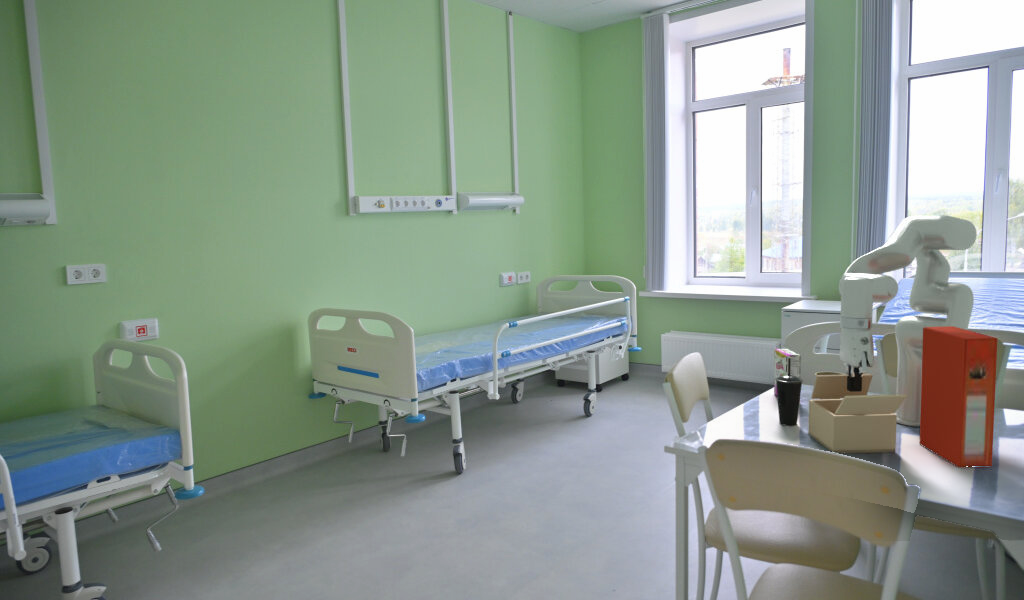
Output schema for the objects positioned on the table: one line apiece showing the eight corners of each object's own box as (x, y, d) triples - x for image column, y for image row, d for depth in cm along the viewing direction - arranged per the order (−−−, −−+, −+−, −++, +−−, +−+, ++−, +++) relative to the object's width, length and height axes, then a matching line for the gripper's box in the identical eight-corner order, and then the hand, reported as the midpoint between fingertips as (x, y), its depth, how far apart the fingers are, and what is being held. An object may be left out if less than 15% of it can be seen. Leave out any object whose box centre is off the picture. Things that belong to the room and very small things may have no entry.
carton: (865, 432, 191) (866, 398, 190) (895, 452, 175) (896, 414, 174) (808, 433, 191) (809, 399, 190) (833, 453, 176) (834, 416, 174)
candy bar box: (772, 394, 234) (773, 348, 232) (787, 394, 233) (788, 348, 231) (785, 403, 222) (786, 355, 220) (800, 403, 222) (801, 354, 220)
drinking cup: (804, 427, 197) (806, 361, 195) (777, 426, 198) (778, 360, 196) (799, 420, 204) (800, 355, 202) (772, 419, 206) (773, 355, 204)
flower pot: (810, 395, 231) (811, 371, 230) (839, 396, 229) (840, 371, 228) (819, 403, 221) (820, 377, 220) (849, 403, 220) (850, 377, 219)
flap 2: (905, 394, 168) (906, 396, 168) (893, 411, 174) (894, 413, 174) (845, 395, 169) (845, 397, 168) (835, 412, 175) (835, 414, 174)
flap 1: (865, 397, 189) (865, 396, 189) (872, 375, 185) (871, 373, 185) (811, 398, 190) (811, 397, 190) (817, 376, 185) (816, 375, 186)
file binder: (957, 467, 163) (963, 338, 159) (918, 444, 180) (923, 327, 177) (991, 467, 163) (998, 337, 159) (949, 443, 180) (954, 326, 176)
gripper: (885, 327, 170) (882, 397, 172) (856, 318, 185) (855, 383, 187) (855, 328, 170) (853, 398, 173) (829, 319, 185) (827, 384, 188)
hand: (854, 390), depth 180 cm, fingers closed
